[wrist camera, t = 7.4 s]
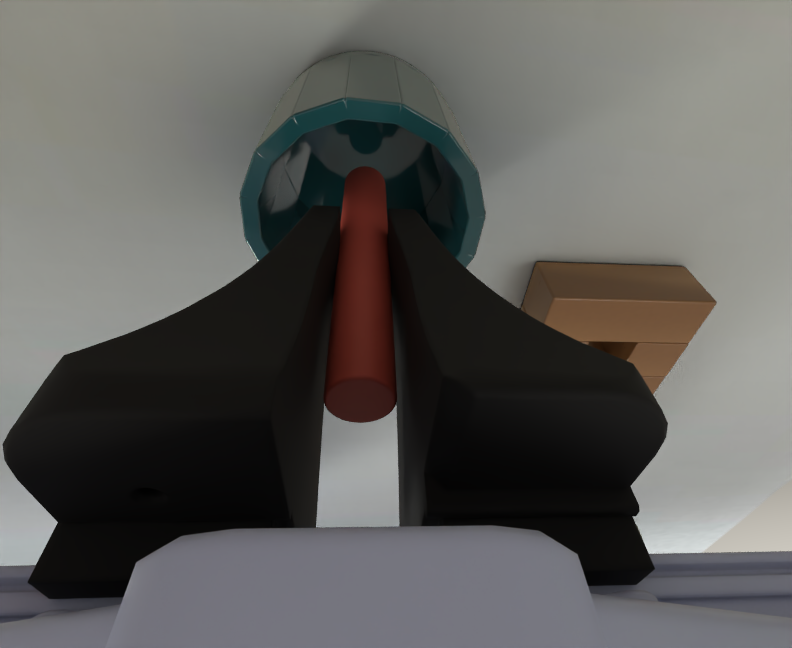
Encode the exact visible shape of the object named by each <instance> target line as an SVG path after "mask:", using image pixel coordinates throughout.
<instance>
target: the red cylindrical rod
mask: <svg viewBox="0 0 792 648" xmlns="http://www.w3.org/2000/svg"><path fill="white" fill-rule="evenodd" d="M340 231H341V236H340V247H339V257H338V263H337V269H336V276H335V286H334V296H333V306H332V316H331V326H330V336H329V346H328V356H327V366H326V376H325V386H324V396H323V399H324V403H325V406H326V407H327V409H328V410H329V412H330V413H332V414H333V415H334V416H336V417H338V418H340V419H342V420H345V421H349V422H358V423H363V422H371V421H375V420H378V419H381V418H383V417H385V416H386V415H388V414H389V413H390V412H391V411H392V410H393V408H394V407H395V405H396V402H397V384H396V366H395V348H394V329H393V311H392V293H391V276H390V267H389V258H388V240H387V234H388V220H387V201H386V184H385V180H384V178H383V176H382V175H381V173H380V172H379V171H377V170H376V169H374V168H371V167H367V166H363V167H358V168H355V169H354V170H352V171H351V172H350V173H349V174H348V175H347V177H346V180H345V185H344V195H343V206H342V216H341V226H340Z"/></svg>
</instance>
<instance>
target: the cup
mask: <svg viewBox="0 0 792 648" xmlns="http://www.w3.org/2000/svg"><path fill="white" fill-rule="evenodd" d="M363 166H367V167H371V168H374V169H376V170H377V171H379V172H380V173H381V175H382V176H383V178H384V180H385V184H386V201H387V220H388V218H389V208H391V209H415V210H416V211H417V212H418V214H419V215H420V216H421V217H422V219H423V220H424V221H425V223H426V224H427V225H428V227H429V228H430V229H431V230H432V232H433V233H434V234H435V235H436V237H437V238H438V239H439V240H440V242H441V243H442V244H443V245H444V246H445V247H446V248H447V249H448V251H449V252H450V253H451V254H452V255H453V256H454V257H455V258H456V259H457V260H458V261H459V262H460V263H461V264H462V265H463V266H464V267H465V268H466V267H467V266H468V264H469V263H470V262H471V260H472V259H473V258H474V255H475V254H476V250H477V247H478V243H479V239H480V236H481V232H482V228H483V224H484V221H485V214H486V212H485V206H484V201H483V195H482V189H481V183H480V177H479V172H478V170H477V168H476V165H475V163H474V161H473V158H472V156H471V154H470V151H469V149H468V147H467V144H466V142H465V140H464V137H463V135H462V133H461V131H460V128H459V126H458V124H457V121H456V119H455V117H454V114H453V112H452V111H451V109H450V108H449V106H448V105H447V103H446V101H445V100H444V98H443V96H442V94H441V93H440V91H439V90H438V89H437V88H436V86H435V85H434V84H433V83H432V82H431V81H430V80H429V79H428V78H427V77H426V76H425V75H424V74H423V73H422V72H421V71H419V70H418V69H416V68H415V67H414V66H412V65H411V64H409V63H407V62H405V61H403V60H401V59H399V58H396V57H393V56H390V55H388V54H383V53H378V52H373V51H353V52H345V53H341V54H337V55H333V56H330V57H328V58H326V59H324V60H321V61H319V62H318V63H316V64H314V65H313V66H311V67H310V68H308V69H307V70H306V71H305V72H303V73H302V74H301V75H300V76H299V77H298V78H297V79H296V80H295V81H294V82H293V84H292V85H291V86H290V87H289V89H288V90H287V91H286V92H285V93H284V94H283V96H282V97H281V99H280V101H279V103H278V105H277V107H276V109H275V111H274V113H273V115H272V117H271V119H270V121H269V123H268V125H267V127H266V129H265V131H264V133H263V135H262V137H261V139H260V141H259V143H258V145H257V147H256V149H255V151H254V153H253V156H252V159H251V162H250V165H249V168H248V171H247V174H246V177H245V180H244V182H243V185H242V188H241V191H240V197H239V198H240V205H241V213H242V221H243V229H244V237H245V239H246V242H247V244H248V245H249V247H250V249H251V250H252V252H253V254H254V255H255V257H256V259H257V260H258V261H260V260H261V259H262V258H263V257H264V256H265V255H266V254H267V253H269V252H270V251H271V250H272V249H273V248H274V247H275V246H276V245H277V244H278V243H279V242H280V241H281V240H282V239H283V238H284V237H285V236H286V235H287V234H288V233H289V232H290V231H291V230H292V229H293V227H294V226H295V225H296V224H297V223H298V222H299V221H300V220H301V218H302V217H303V216H304V215H305V214H306V213H307V211H308V210H309V209H310V208H311V207H312V206H314V205H318V206H340V226H341V216H342V206H343V195H344V185H345V180H346V177H347V175H348V174H349V173H350V172H351V171H352V170H354V169H355V168H358V167H363Z"/></svg>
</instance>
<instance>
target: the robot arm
mask: <svg viewBox="0 0 792 648" xmlns="http://www.w3.org/2000/svg"><path fill="white" fill-rule="evenodd" d="M340 236H341V231H340V206H318V205H314V206H312V207H311V208H310V209H309V210H308V211H307V213H306V214H305V215H304V216H303V217H302V218H301V220H300V221H299V222H298V223H297V224H296V225H295V226H294V227H293V229H292V230H291V231H290V232H289V233H288V234H287V235H286V236H285V237H284V238H283V239H282V240H281V241H280V242H279V243H278V244H277V245H276V246H275V247H274V248H273V249H272V250H271V251H270V252H269V253H267V254H266V255H265V256H264V257H263V258H262V259H261V260H260V261H258V262H257V263H256V264H255V265H254V266H253V267H251V268H250V269H249V270H247V271H246V272H245V273H243V274H242V275H240V276H239V277H237V278H236V279H235V280H233V281H232V282H230V283H229V284H227V285H226V286H224V287H222V288H221V289H219V290H217V291H216V292H214V293H212V294H210V295H209V296H207V297H205V298H203V299H201V300H200V301H198V302H196V303H194V304H192V305H191V306H189V307H187V308H185V309H183V310H181V311H179V312H177V313H175V314H173V315H170V316H168V317H166V318H164V319H162V320H159V321H157V322H155V323H152V324H150V325H148V326H145V327H143V328H141V329H138V330H136V331H133V332H130V333H128V334H125V335H122V336H120V337H117V338H114V339H111V340H108V341H105V342H102V343H99V344H97V345H94V346H91V347H88V348H85V349H82V350H79V351H76V352H73V353H70V354H67V355H64V356H63V357H62V358H61V360H60V361H59V362H58V363H57V365H56V366H55V367H54V369H53V370H52V372H51V373H50V374H49V376H48V377H47V378H46V380H45V381H44V382H43V384H42V385H41V387H40V388H39V390H38V391H37V393H36V394H35V395H34V397H33V398H32V400H31V401H30V403H29V404H28V405H27V407H26V408H25V410H24V411H23V413H22V414H21V415H20V417H19V418H18V420H17V421H16V423H15V424H14V426H13V427H12V428H11V430H10V432H9V433H8V435H7V437H6V439H5V441H4V443H3V451H4V459H5V461H6V463H7V465H8V467H9V468H10V470H11V471H12V472H13V474H14V475H15V477H16V478H17V480H18V481H19V482H20V483H21V484H22V485H23V486H24V487H25V488H26V489H27V490H28V491H29V492H30V493H31V494H32V495H33V497H34V498H35V499H36V500H37V501H38V502H39V503H40V504H41V505H42V506H43V507H44V508H45V509H46V510H47V511H48V512H49V513H50V514H51V515H52V516H53V517H54V518H55V520H56V521H57V522H58V524H57V526H56V527H55V529H54V531H53V533H52V535H51V537H50V539H49V541H48V543H47V545H46V547H45V549H44V551H43V553H42V555H41V556H40V558H39V560H38V562H37V564H36V565H29V566H0V648H792V551H786V552H785V551H782V552H781V551H780V552H734V553H733V552H732V553H731V552H727V553H673V554H649V553H648V551H647V549H646V547H645V544H644V542H643V540H642V538H641V535H640V533H639V531H638V528H637V526H636V524H635V522H634V519H633V517H632V516H636V515H637V514H638V513H639V504H638V502H637V500H636V498H635V496H634V494H633V491H632V489H631V487H630V486H631V485H632V483H633V482H634V481H635V480H636V479H637V477H638V476H639V475H640V474H641V472H642V471H643V470H644V469H645V468H646V466H647V465H648V464H649V463H650V461H651V460H652V459H653V458H654V457H655V455H656V454H657V452H658V450H659V449H660V447H661V445H662V444H663V442H664V440H665V438H666V433H667V425H668V423H667V421H666V418H665V416H664V414H663V411H662V409H661V408H660V406H659V404H658V403H657V401H656V399H655V398H654V396H653V394H652V392H651V391H650V389H649V387H648V386H647V384H646V382H645V381H644V379H643V378H642V376H641V374H640V373H639V371H638V370H637V368H636V367H635V366H634V364H633V363H630V362H628V361H626V360H623V359H621V358H618V357H616V356H613V355H611V354H608V353H606V352H604V351H601V350H599V349H596V348H594V347H591V346H589V345H586V344H584V343H582V342H579V341H577V340H575V339H573V338H571V337H569V336H567V335H565V334H563V333H561V332H559V331H557V330H555V329H553V328H551V327H549V326H547V325H546V324H544V323H542V322H540V321H538V320H537V319H535V318H533V317H531V316H530V315H528V314H527V313H525V312H523V311H522V310H520V309H519V308H517V307H515V306H514V305H512V304H511V303H509V302H508V301H506V300H505V299H503V298H502V297H500V296H499V295H498V294H496V293H495V292H494V291H493V290H491V289H490V288H489V287H487V286H486V285H485V284H484V283H482V282H481V281H480V280H479V279H477V278H476V277H475V276H474V275H473V274H472V273H470V272H469V271H468V270H467V269H466V268H465V267H464V266H463V265H462V264H461V263H460V262H459V261H458V260H457V259H456V258H455V257H454V256H453V255H452V254H451V253H450V252H449V251H448V249H447V248H446V247H445V246H444V245H443V244H442V243H441V242H440V240H439V239H438V238H437V237H436V235H435V234H434V233H433V232H432V230H431V229H430V228H429V227H428V225H427V224H426V223H425V221H424V220H423V219H422V217H421V216H420V215H419V214H418V212H417V211H416V210H415V209H391V208H389V218H388V234H387V240H388V258H389V267H390V276H391V293H392V311H393V329H394V348H395V366H396V384H397V432H398V469H399V520H400V527H334V528H316V517H317V501H318V484H319V469H320V453H321V438H322V425H323V411H324V399H323V396H324V386H325V376H326V366H327V356H328V346H329V336H330V326H331V316H332V306H333V296H334V286H335V276H336V269H337V263H338V257H339V247H340Z"/></svg>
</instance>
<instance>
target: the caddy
mask: <svg viewBox="0 0 792 648" xmlns="http://www.w3.org/2000/svg"><path fill="white" fill-rule="evenodd" d="M716 303H717V302H716V300H715V299H714V298H713V297H712V296H711V295H710V294H709V293H708V292H707V291H706V289H705V288H704V287H703V286H702V285H701V284H700V283H699V282H698V281H697V280H696V278H695V277H694V276H693V275H692V274H691V273H690V272H689V271H688V270H687V269H686V268H685V267H679V266H649V265H618V264H588V263H557V262H536V264H535V267H534V270H533V273H532V276H531V279H530V282H529V286H528V289H527V292H526V295H525V298H524V301H523V304H522V307H521V310H522V311H523V312H525V313H527V314H528V315H530V316H531V317H533V318H535V319H537V320H538V321H540V322H542V323H544V324H546V325H547V326H549V327H551V328H553V329H555V330H557V331H559V332H561V333H563V334H565V335H567V336H569V337H571V338H573V339H575V340H577V341H579V342H582V343H584V344H586V345H589V346H591V347H594V348H596V349H599V350H601V351H604V352H606V353H608V354H611V355H613V356H616V357H618V358H621V359H623V360H626V361H628V362H630V363H633V364H634V366H635V367H636V368H637V370H638V371H639V373H640V374H641V376H642V378H643V379H644V381H645V382H646V384H647V386H648V387H649V389H650V391H651V392H652V394H654V392H655V391H656V389H657V388H658V386H659V385H660V384H661V382H662V381H663V379H664V378H665V376H666V375H667V374H668V373H669V371H670V370H671V368H672V367H673V366H674V364H675V363H676V361H677V360H678V358H679V357H680V356H681V354H682V353H683V351H684V350H685V348H686V347H687V346H688V343H689V342H690V341H691V339H692V338H693V336H694V335H695V334H696V332H697V331H698V329H699V328H700V326H701V325H702V323H703V322H704V321H705V319H706V318H707V316H708V315H709V313H710V312H711V311H712V309H713V308H714V306H715V305H716Z"/></svg>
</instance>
